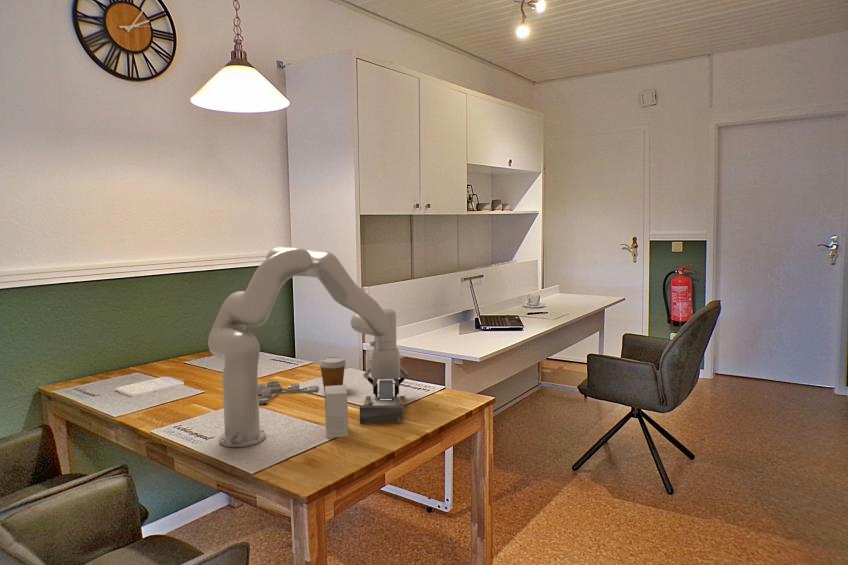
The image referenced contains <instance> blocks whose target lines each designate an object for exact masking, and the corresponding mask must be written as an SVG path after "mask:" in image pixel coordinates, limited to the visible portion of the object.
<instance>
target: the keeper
mask: <svg viewBox="0 0 848 565" xmlns="http://www.w3.org/2000/svg"><path fill="white" fill-rule="evenodd" d="M378 395H379V397H378V400H379V399H392V398H393V399H394V379H379V383H378Z"/></svg>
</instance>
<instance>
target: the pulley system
mask: <svg viewBox="0 0 848 565" xmlns="http://www.w3.org/2000/svg"><path fill="white" fill-rule="evenodd" d="M280 384H281V381H274V380H273V381H270V382H269V381H268V382H266V384H265V383H261V384H259V383H258V394H261V396H260V397H259V396H258V397H259V404H267V403H269V402H271V401H272V400H273V399H276V398H277V397H278V396H279V395H288V394H290V395H291V394H309V393H310V394H314V393H313V392H316V391H317V392H318V390H319V385H311V386H309V387H304V388H300V384H299V383H293V384H290V389H288V388H282V386H281V385H280ZM307 388H310V389H307ZM304 389H307V390H304ZM302 390H303V391H302ZM317 392H316V393H317ZM272 394H273V395H272Z"/></svg>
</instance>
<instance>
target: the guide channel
mask: <svg viewBox="0 0 848 565" xmlns="http://www.w3.org/2000/svg"><path fill="white" fill-rule="evenodd" d="M405 397H406V396H405V395H399V401H398V402H399V403H398V404H396V405H395V404H394V405H389V404H387V405H383V404H382V405H377V404H376V405H371V403H370V402H372V395H366V396H365V400H364V402H363V405H360V406H359V425H360V424H362V425H363V424H364V425H365V424H369V425H370V424H374V425H375V424H403V420H404V412H405V403H404V402H405V399H406V398H405Z"/></svg>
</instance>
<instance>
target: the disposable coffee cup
mask: <svg viewBox="0 0 848 565" xmlns="http://www.w3.org/2000/svg"><path fill="white" fill-rule="evenodd" d="M318 364H319V367H320V373H321V378H322V384H323V391H324V393H325V386H336V385H344V375H345V367H346V364H347V361H346V359H345V358H344V357H342V356H326V357H323V358H321V359H320V360H319V363H318Z"/></svg>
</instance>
